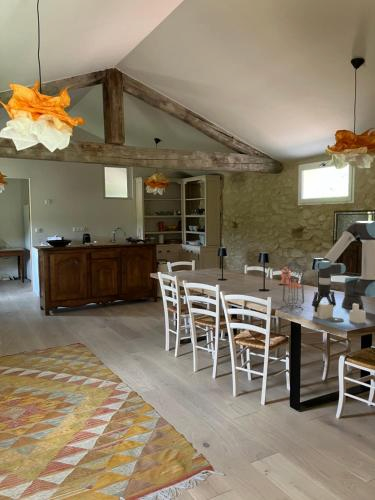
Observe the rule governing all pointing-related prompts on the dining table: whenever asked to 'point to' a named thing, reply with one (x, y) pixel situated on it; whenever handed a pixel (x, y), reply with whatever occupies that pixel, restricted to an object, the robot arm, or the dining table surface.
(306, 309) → the dining table surface
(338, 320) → the coaster
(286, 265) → the geometric lantern
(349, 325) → the dining table surface
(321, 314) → the cream cube
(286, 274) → the ceramic vessels
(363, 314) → the medicine bottle
